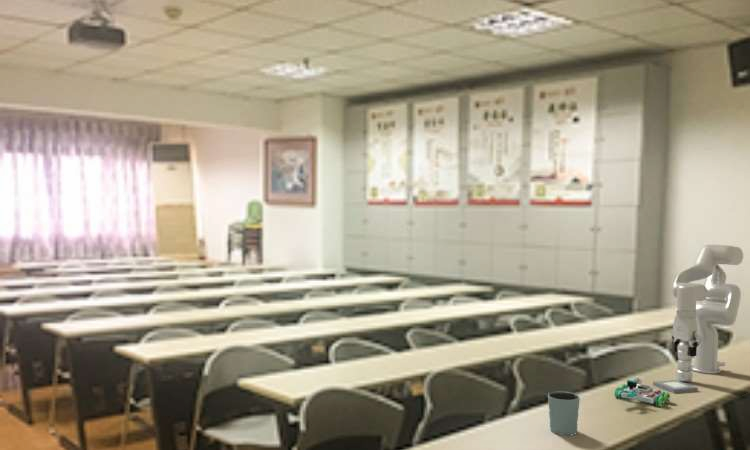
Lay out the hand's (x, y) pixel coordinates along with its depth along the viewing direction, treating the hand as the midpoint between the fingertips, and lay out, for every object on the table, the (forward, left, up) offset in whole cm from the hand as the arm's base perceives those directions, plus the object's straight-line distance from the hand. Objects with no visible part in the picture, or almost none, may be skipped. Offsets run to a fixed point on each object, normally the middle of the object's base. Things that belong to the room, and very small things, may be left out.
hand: (685, 353), depth 283 cm
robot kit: (+41, +21, -13) cm, 48 cm away
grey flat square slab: (+12, +8, -12) cm, 19 cm away
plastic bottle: (0, 0, -12) cm, 12 cm away
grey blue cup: (+88, +42, -12) cm, 98 cm away
